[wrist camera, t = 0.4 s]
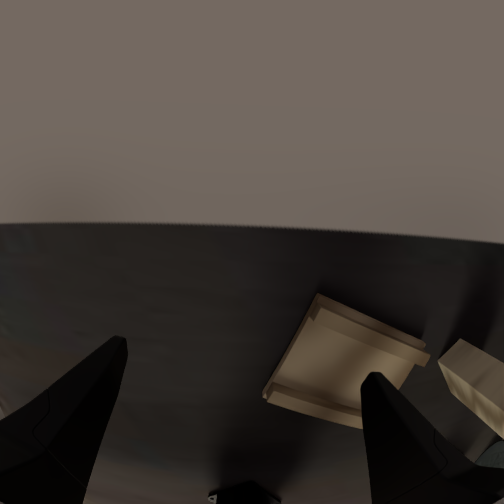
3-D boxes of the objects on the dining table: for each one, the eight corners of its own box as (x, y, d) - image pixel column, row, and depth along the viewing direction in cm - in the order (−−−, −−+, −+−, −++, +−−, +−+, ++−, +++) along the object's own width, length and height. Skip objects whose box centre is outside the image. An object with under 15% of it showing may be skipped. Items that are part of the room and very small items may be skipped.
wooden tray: (420, 340, 24) (434, 349, 21) (367, 422, 24) (375, 436, 22) (317, 292, 23) (324, 300, 21) (262, 391, 24) (263, 406, 21)
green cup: (494, 466, 27) (524, 498, 15) (456, 489, 27) (484, 528, 15) (513, 428, 26) (550, 459, 14) (475, 452, 26) (512, 493, 14)
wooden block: (471, 372, 24) (536, 417, 12) (450, 392, 24) (511, 446, 12) (460, 338, 24) (536, 383, 12) (437, 360, 24) (509, 416, 12)
